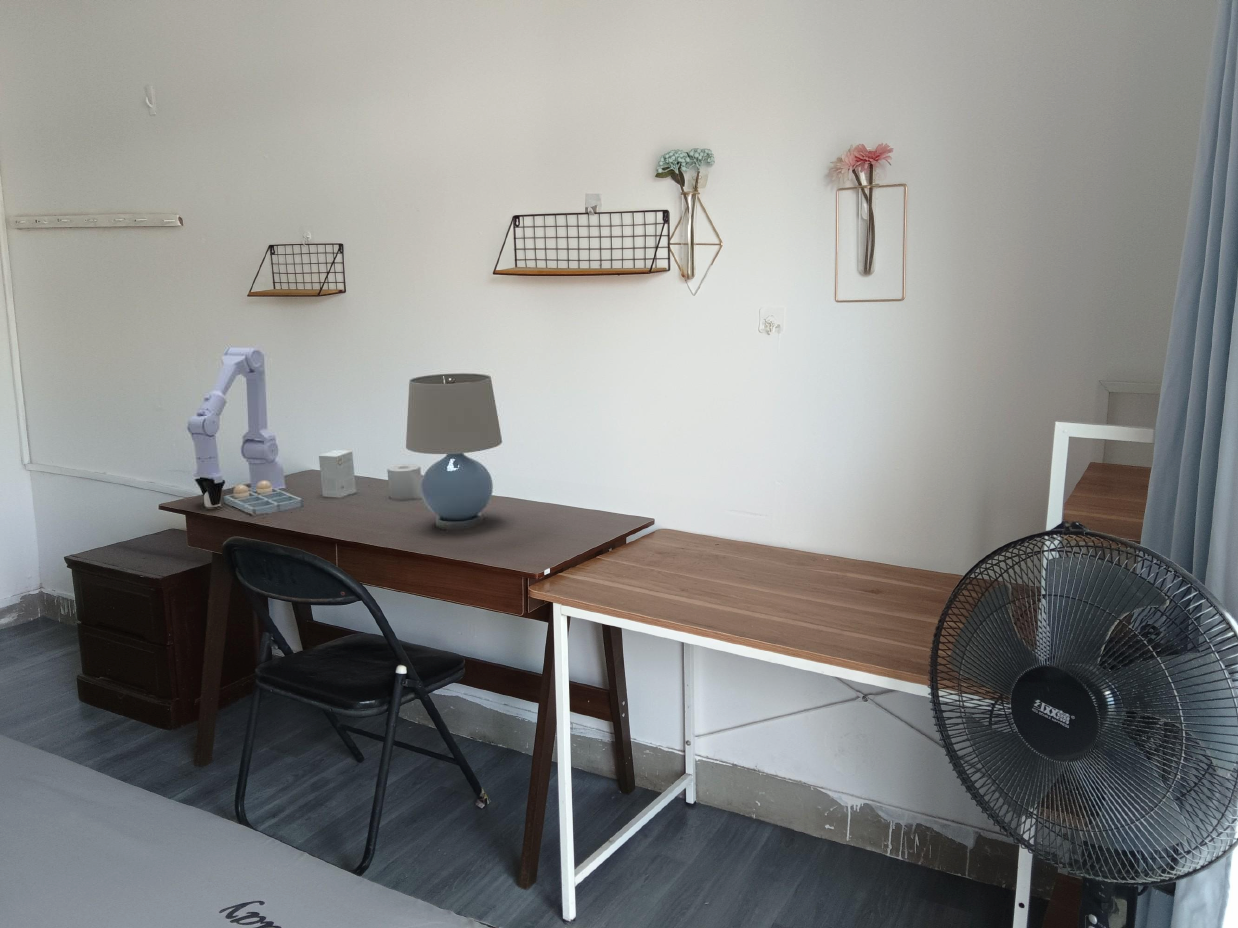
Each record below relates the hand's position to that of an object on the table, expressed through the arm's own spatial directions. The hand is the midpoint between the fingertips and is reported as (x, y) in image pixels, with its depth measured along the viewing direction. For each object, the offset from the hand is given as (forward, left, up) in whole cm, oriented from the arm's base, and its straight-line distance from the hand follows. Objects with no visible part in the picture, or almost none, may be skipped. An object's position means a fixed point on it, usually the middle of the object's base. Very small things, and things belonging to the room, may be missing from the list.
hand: (212, 503), depth 268 cm
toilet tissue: (-46, +30, -2) cm, 55 cm away
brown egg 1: (-8, +2, -1) cm, 8 cm away
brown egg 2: (-14, +2, -1) cm, 15 cm away
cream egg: (0, 0, -1) cm, 1 cm away
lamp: (-40, +66, -2) cm, 77 cm away
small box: (-32, +14, -2) cm, 35 cm away
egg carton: (-11, +9, -1) cm, 14 cm away
